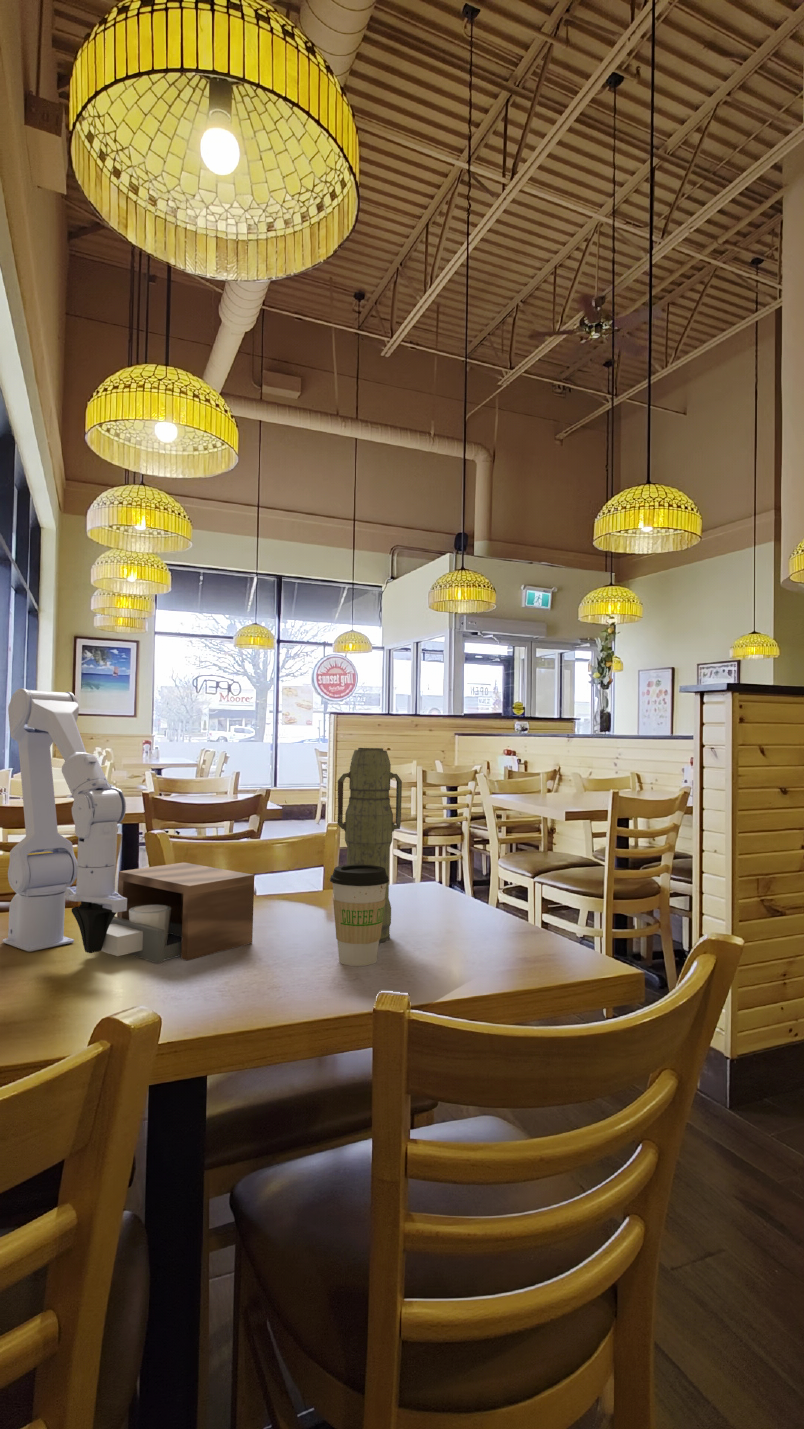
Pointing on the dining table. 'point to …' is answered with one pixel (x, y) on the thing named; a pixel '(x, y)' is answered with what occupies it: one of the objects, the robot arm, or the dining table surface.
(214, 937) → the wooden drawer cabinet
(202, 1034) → the dining table surface
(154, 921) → the white cup
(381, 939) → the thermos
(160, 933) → the shelf tray
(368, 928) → the coffee cup
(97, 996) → the dining table surface
